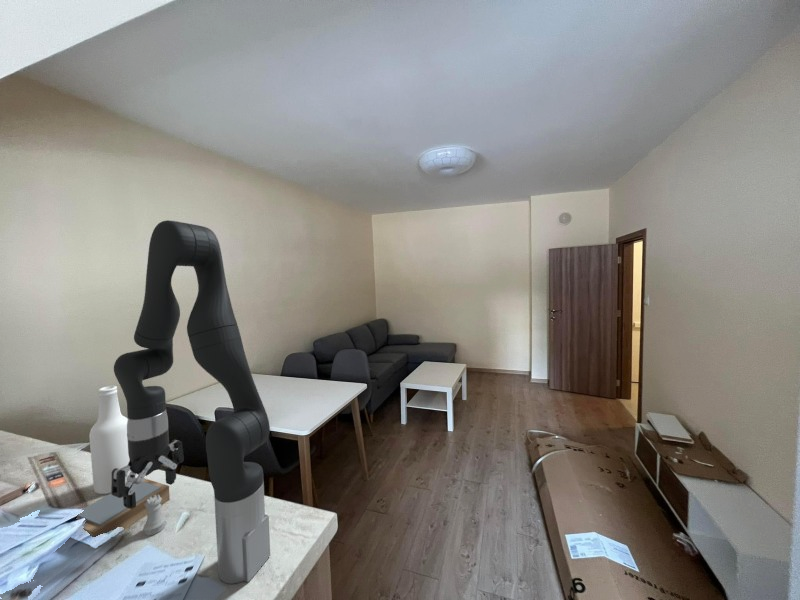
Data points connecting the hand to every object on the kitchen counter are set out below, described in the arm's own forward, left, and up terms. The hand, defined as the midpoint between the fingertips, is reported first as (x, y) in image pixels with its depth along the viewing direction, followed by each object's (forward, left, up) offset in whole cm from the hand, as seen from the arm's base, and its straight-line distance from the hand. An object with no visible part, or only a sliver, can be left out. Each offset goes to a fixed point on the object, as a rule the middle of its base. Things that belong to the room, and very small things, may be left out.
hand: (152, 494), depth 72 cm
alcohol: (+29, -7, -9) cm, 31 cm away
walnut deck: (+13, 0, -9) cm, 15 cm away
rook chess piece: (0, 0, -9) cm, 9 cm away
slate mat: (+13, 0, -5) cm, 14 cm away
